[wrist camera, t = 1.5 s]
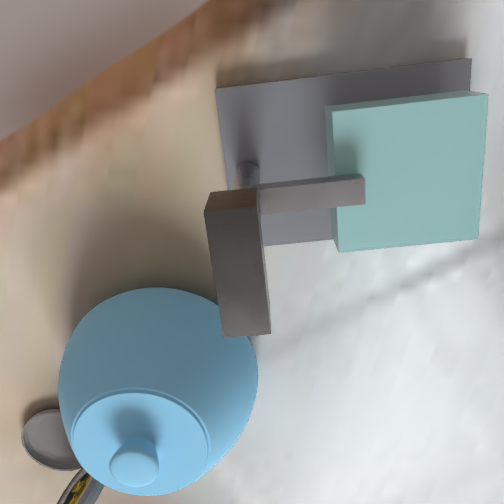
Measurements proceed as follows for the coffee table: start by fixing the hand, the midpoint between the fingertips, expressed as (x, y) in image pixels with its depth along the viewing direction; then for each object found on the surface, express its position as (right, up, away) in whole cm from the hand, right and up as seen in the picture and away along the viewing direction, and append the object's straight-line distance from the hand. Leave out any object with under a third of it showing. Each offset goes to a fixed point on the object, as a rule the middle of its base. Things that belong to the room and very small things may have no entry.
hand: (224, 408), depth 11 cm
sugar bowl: (-6, -5, +29) cm, 30 cm away
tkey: (+3, +9, +21) cm, 23 cm away
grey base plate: (+7, +10, +22) cm, 25 cm away
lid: (+9, +9, +18) cm, 22 cm away
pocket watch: (-15, -14, +32) cm, 38 cm away
